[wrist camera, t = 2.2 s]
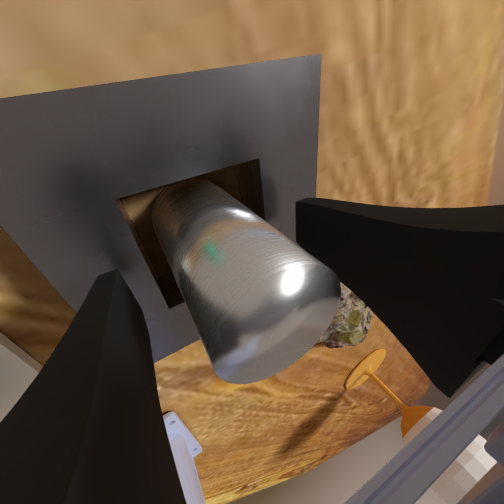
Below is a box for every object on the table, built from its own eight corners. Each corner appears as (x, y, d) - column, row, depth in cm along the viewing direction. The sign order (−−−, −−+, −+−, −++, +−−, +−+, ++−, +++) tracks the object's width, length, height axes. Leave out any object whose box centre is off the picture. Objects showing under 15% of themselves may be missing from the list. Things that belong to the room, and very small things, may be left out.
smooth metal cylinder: (235, 236, 14) (335, 336, 8) (168, 262, 13) (229, 404, 7) (221, 167, 12) (348, 240, 6) (137, 191, 10) (190, 315, 5)
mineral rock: (391, 311, 27) (357, 375, 25) (354, 296, 30) (321, 352, 28) (376, 257, 20) (327, 339, 18) (330, 244, 23) (284, 314, 21)
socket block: (289, 261, 18) (312, 280, 16) (125, 338, 14) (129, 375, 12) (282, 60, 11) (321, 53, 9) (-47, 107, 7) (-98, 112, 5)
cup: (369, 348, 36) (502, 471, 24) (391, 347, 42) (508, 447, 30) (335, 391, 38) (442, 523, 26) (361, 385, 44) (458, 491, 32)
